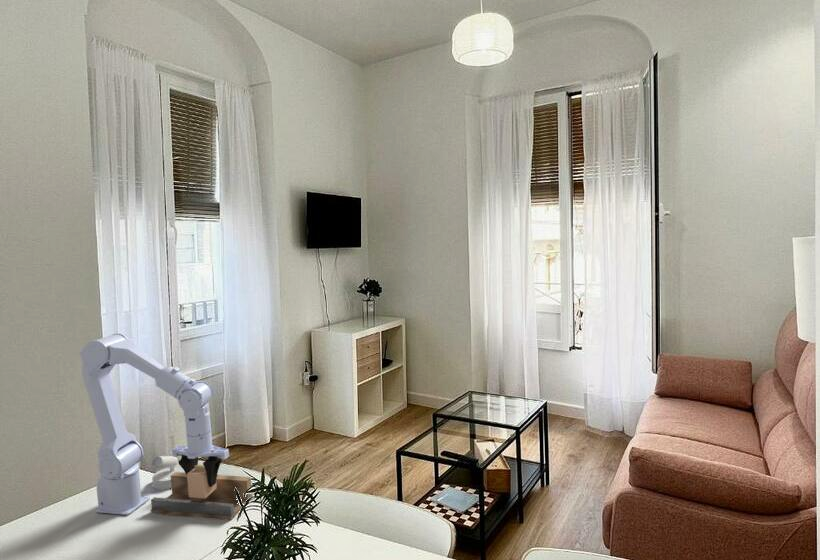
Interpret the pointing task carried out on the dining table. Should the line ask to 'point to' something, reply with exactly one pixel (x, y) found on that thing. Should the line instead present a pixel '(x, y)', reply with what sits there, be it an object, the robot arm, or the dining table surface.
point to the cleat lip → (192, 506)
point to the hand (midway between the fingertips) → (203, 484)
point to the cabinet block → (199, 483)
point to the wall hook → (164, 471)
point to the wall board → (208, 499)
